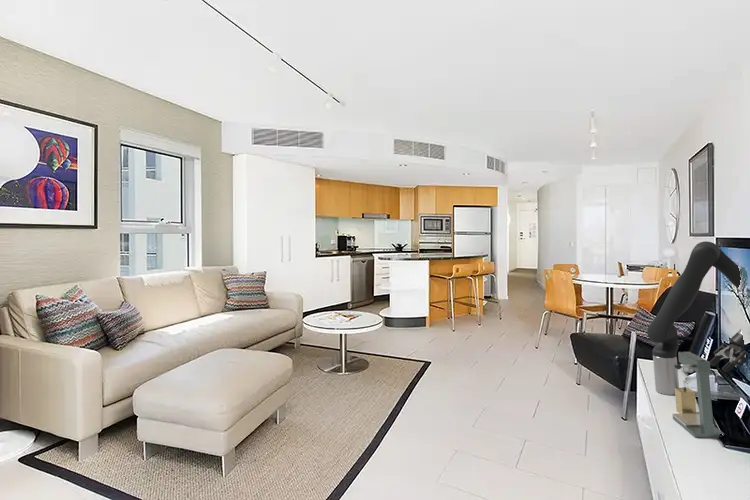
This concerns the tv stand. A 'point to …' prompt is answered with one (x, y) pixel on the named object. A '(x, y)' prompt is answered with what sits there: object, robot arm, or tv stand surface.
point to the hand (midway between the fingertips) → (717, 367)
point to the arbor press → (703, 421)
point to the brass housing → (685, 401)
